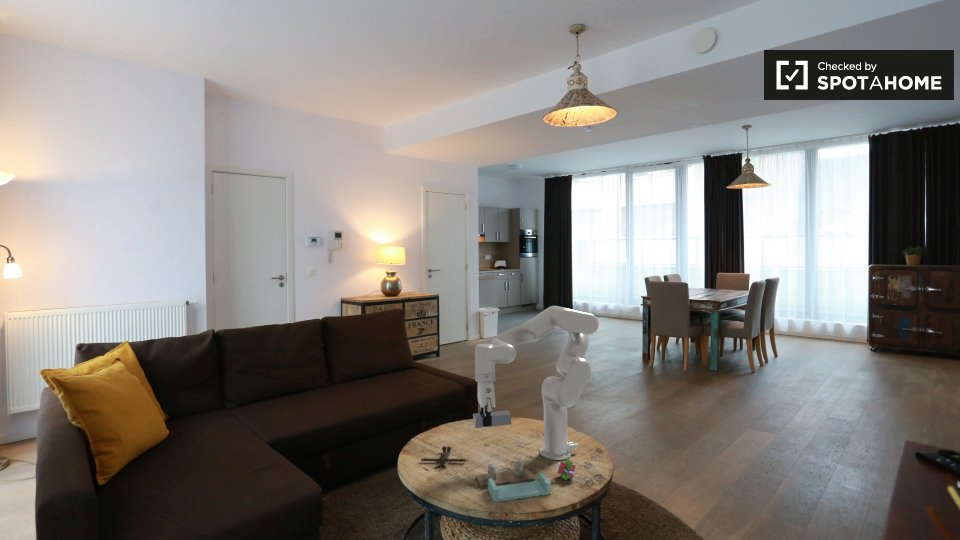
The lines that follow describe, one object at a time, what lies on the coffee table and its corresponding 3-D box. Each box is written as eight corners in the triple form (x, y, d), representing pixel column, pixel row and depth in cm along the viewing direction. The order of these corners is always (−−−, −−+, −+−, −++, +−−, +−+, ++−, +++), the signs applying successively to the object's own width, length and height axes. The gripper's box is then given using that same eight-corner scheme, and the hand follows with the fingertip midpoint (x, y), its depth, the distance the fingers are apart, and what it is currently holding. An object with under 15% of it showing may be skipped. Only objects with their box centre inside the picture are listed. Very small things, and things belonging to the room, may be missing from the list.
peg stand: (527, 471, 178) (527, 456, 178) (535, 481, 170) (535, 466, 170) (476, 477, 173) (476, 462, 173) (481, 488, 166) (481, 472, 165)
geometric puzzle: (574, 465, 177) (562, 451, 176) (584, 473, 171) (572, 458, 169) (560, 479, 176) (549, 465, 174) (570, 488, 169) (558, 473, 167)
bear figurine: (468, 445, 195) (465, 457, 181) (468, 456, 195) (465, 469, 180) (425, 445, 196) (418, 457, 182) (425, 455, 196) (418, 468, 181)
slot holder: (542, 483, 169) (542, 472, 169) (550, 494, 161) (550, 482, 161) (488, 490, 164) (488, 478, 164) (494, 502, 156) (494, 490, 156)
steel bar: (508, 420, 185) (507, 410, 185) (511, 424, 181) (511, 414, 181) (473, 423, 182) (473, 413, 182) (475, 428, 178) (475, 417, 178)
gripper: (500, 381, 173) (501, 430, 174) (489, 370, 189) (489, 415, 190) (480, 383, 171) (481, 432, 172) (470, 371, 188) (471, 417, 188)
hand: (485, 423), depth 181 cm, fingers closed on steel bar, 4 cm apart
